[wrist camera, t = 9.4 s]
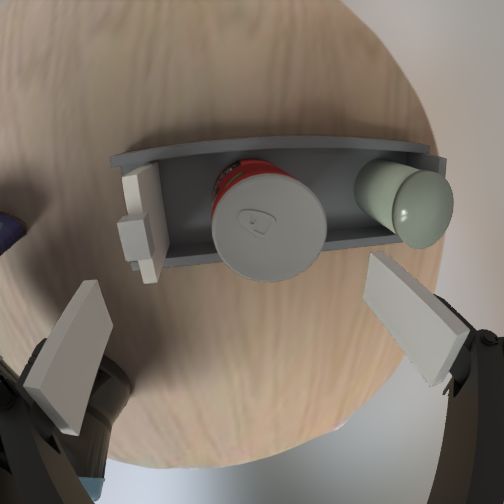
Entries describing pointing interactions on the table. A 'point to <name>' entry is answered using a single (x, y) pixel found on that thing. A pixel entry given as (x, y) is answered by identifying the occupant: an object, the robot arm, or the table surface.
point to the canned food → (265, 221)
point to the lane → (289, 160)
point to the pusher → (144, 221)
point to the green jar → (405, 200)
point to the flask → (10, 231)
